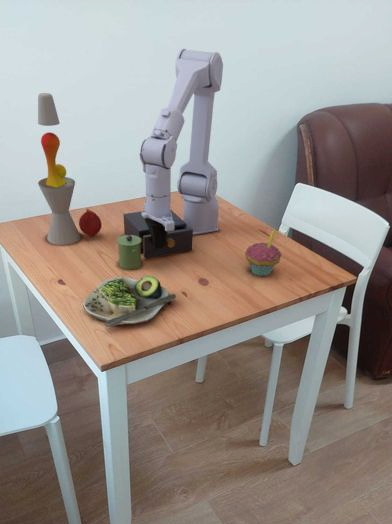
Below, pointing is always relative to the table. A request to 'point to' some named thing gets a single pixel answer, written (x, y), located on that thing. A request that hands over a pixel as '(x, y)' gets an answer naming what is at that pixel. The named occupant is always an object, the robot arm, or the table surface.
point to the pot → (129, 251)
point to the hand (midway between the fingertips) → (158, 247)
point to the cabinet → (137, 224)
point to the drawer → (168, 243)
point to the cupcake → (263, 257)
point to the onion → (90, 223)
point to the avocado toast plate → (127, 300)
